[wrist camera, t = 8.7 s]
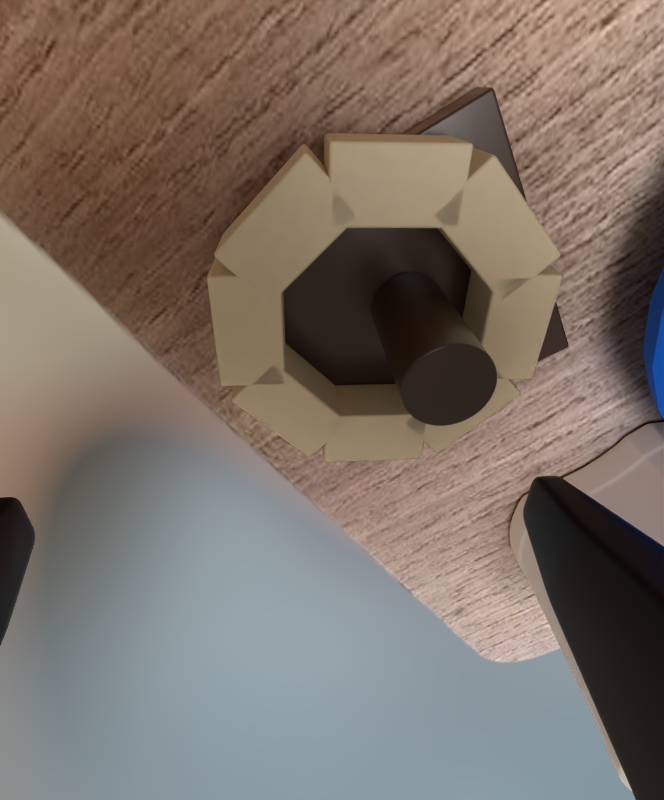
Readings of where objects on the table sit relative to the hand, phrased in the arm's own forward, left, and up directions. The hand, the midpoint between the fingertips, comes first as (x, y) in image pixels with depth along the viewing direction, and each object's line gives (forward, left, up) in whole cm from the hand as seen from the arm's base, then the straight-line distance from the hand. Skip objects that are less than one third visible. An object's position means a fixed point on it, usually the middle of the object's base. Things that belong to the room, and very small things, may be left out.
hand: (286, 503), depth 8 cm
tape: (+1, +2, -9) cm, 9 cm away
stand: (+2, +3, -10) cm, 11 cm away
